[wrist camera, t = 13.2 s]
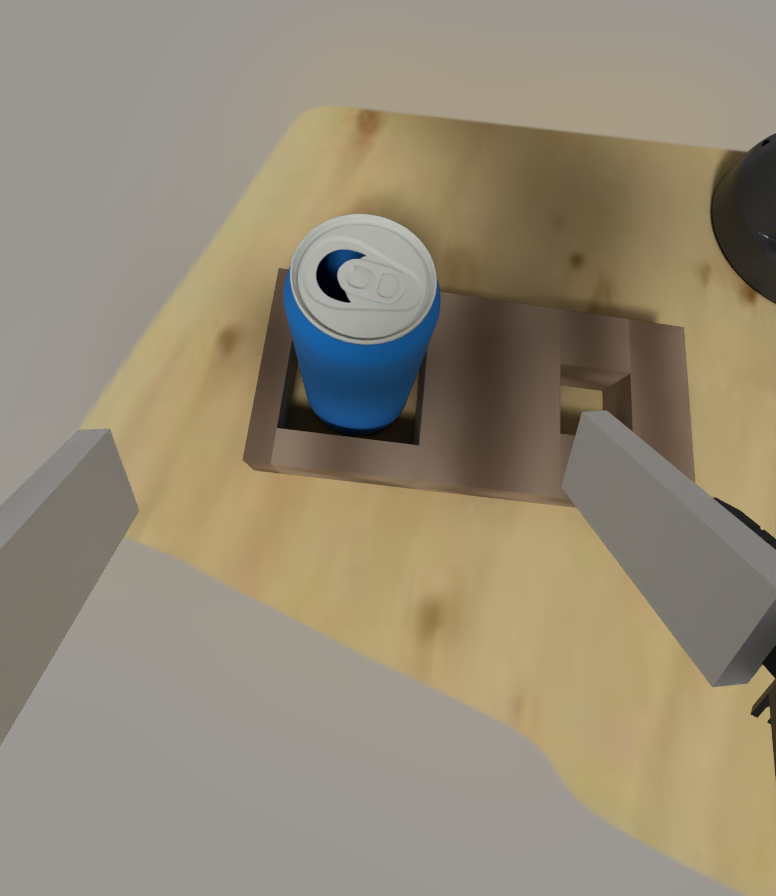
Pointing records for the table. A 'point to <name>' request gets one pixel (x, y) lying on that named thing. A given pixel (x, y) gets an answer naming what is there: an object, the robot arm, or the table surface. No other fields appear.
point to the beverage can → (360, 318)
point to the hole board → (489, 401)
